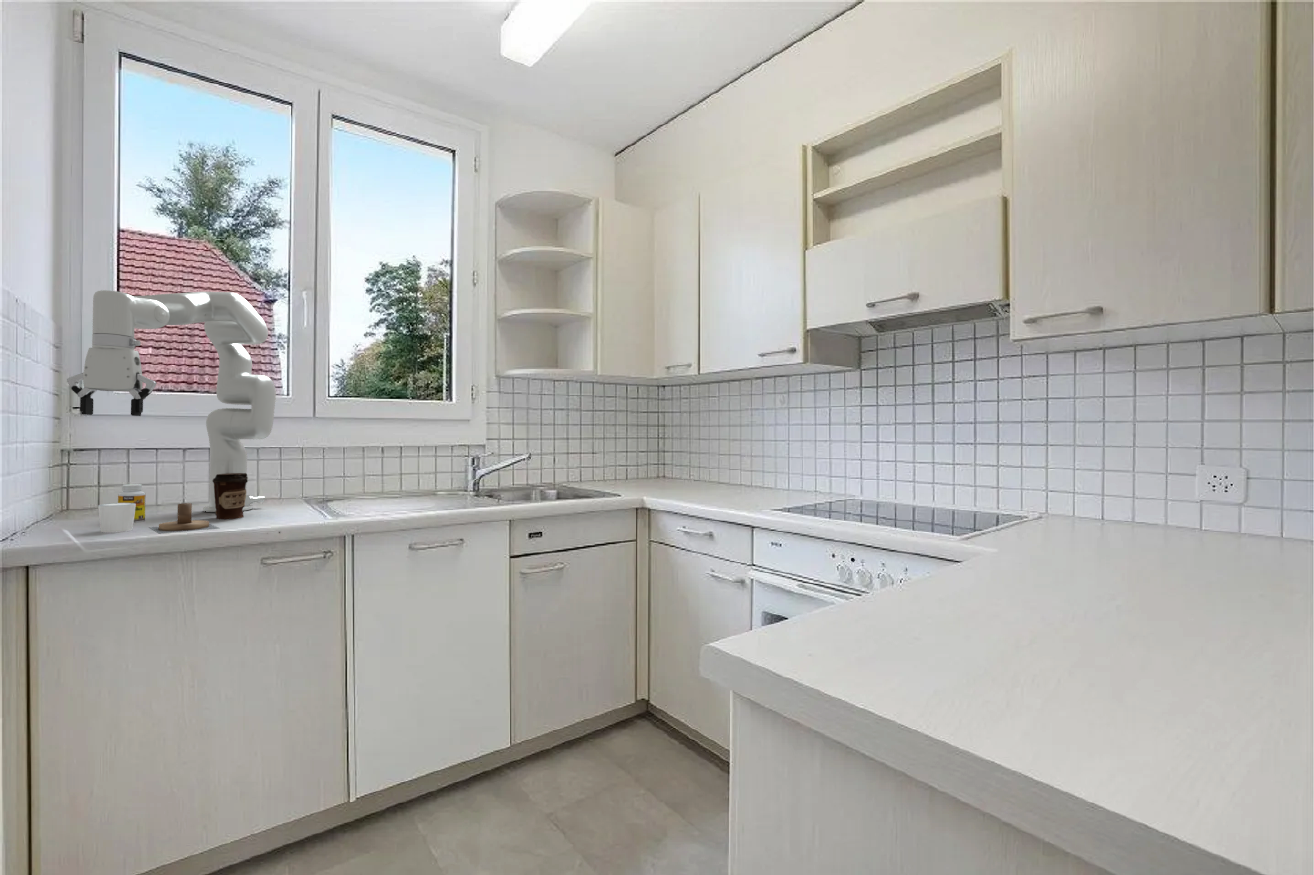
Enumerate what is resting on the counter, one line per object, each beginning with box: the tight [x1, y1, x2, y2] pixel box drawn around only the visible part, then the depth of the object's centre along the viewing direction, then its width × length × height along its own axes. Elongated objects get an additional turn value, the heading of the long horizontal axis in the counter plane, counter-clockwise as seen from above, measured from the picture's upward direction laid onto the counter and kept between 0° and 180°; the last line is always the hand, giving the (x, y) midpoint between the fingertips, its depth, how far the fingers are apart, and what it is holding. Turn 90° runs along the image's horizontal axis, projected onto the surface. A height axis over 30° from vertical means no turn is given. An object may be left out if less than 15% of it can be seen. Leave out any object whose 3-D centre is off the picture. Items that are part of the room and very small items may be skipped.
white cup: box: [97, 502, 136, 534], centre depth 148 cm, size 7×7×7 cm
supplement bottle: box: [117, 483, 147, 523], centre depth 163 cm, size 6×6×10 cm
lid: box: [158, 502, 210, 532], centre depth 153 cm, size 10×10×6 cm
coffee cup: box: [213, 473, 249, 520], centre depth 172 cm, size 9×8×13 cm
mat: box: [148, 523, 219, 535], centre depth 153 cm, size 12×12×1 cm
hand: (111, 415), depth 147 cm, fingers open, 9 cm apart
